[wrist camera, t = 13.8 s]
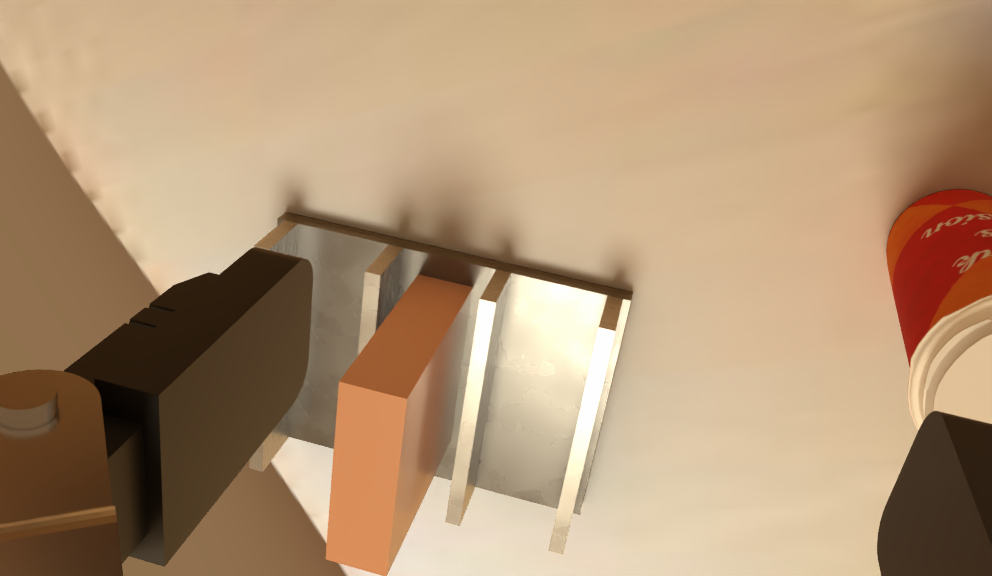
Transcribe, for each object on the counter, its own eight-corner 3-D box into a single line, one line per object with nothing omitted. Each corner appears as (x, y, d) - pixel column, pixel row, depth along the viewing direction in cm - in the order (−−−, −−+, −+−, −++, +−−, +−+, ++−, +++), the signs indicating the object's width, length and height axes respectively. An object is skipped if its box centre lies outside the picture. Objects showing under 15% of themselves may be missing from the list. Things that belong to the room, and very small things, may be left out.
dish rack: (277, 422, 55) (242, 466, 51) (285, 212, 49) (246, 243, 45) (582, 503, 53) (570, 556, 49) (632, 292, 46) (623, 333, 42)
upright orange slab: (418, 274, 48) (338, 381, 38) (473, 287, 47) (407, 399, 38) (400, 428, 52) (325, 559, 43) (450, 441, 52) (386, 576, 42)
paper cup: (1085, 220, 40) (1243, 383, 28) (965, 347, 44) (1058, 542, 31) (932, 132, 40) (1022, 257, 28) (824, 267, 44) (862, 430, 31)
